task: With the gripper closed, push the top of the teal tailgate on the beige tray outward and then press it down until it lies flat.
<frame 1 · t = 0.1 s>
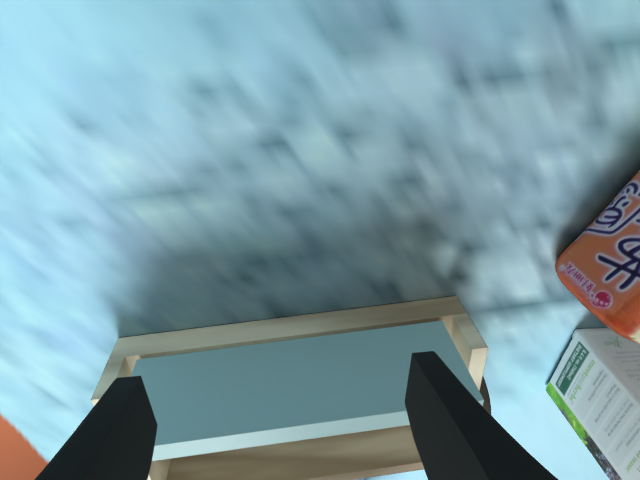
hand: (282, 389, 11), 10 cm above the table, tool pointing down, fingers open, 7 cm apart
beige tray: (299, 376, 26), on the table
tailgate: (296, 385, 20), point 4 cm above the table, hinge at 0.0°
syrup box: (595, 355, 28), on the table
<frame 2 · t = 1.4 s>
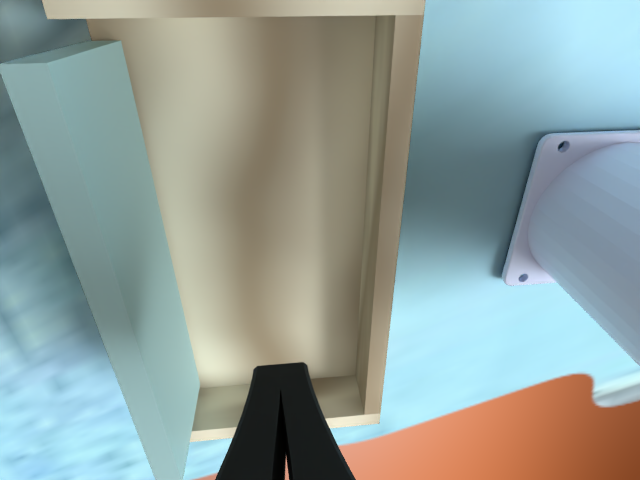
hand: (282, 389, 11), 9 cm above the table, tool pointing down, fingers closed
beige tray: (267, 227, 19), on the table
tailgate: (141, 291, 15), point 4 cm above the table, hinge at 0.0°
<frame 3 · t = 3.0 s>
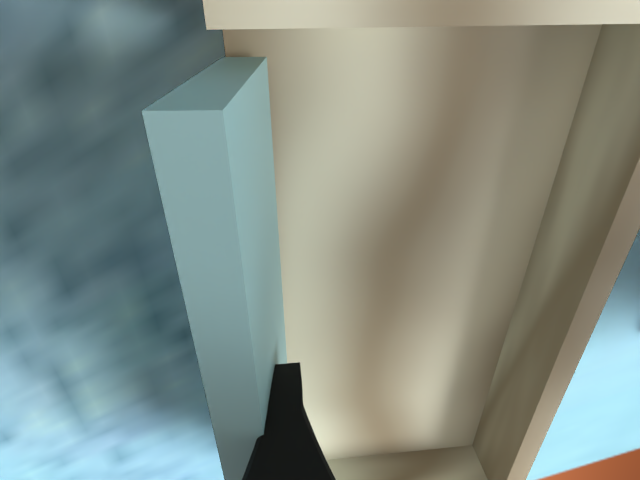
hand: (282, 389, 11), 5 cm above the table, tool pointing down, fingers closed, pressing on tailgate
beige tray: (390, 279, 15), on the table
tailgate: (259, 384, 11), point 4 cm above the table, hinge at 5.7°, touching gripper
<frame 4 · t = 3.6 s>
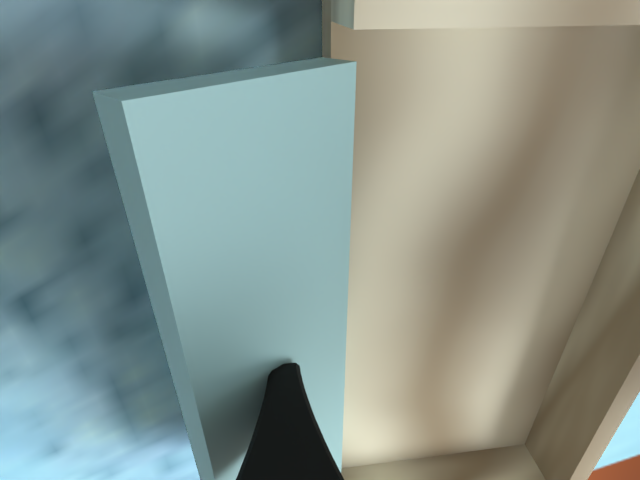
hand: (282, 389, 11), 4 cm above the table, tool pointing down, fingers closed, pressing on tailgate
beige tray: (455, 280, 15), on the table
tailgate: (274, 378, 11), point 4 cm above the table, hinge at 50.9°, touching gripper
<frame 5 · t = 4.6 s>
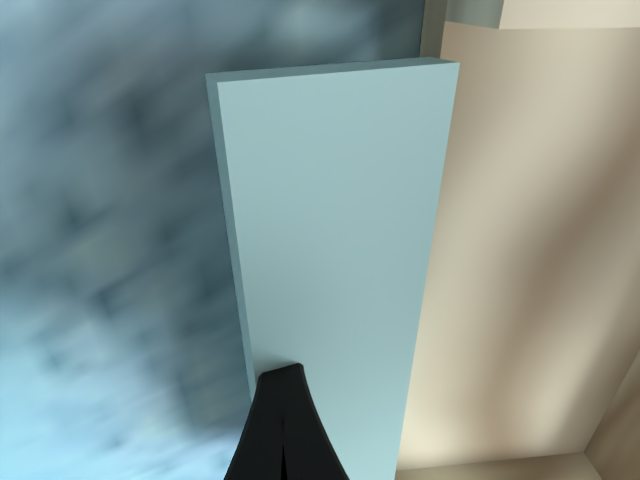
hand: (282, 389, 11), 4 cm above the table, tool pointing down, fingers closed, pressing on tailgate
beige tray: (526, 284, 15), on the table
tailgate: (335, 360, 12), point 3 cm above the table, hinge at 70.9°, touching gripper
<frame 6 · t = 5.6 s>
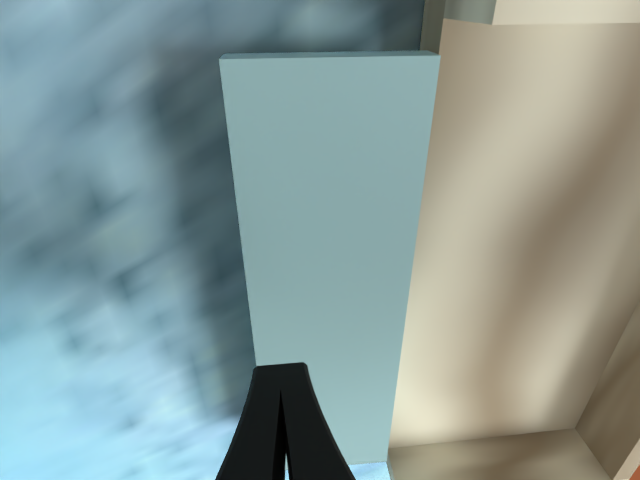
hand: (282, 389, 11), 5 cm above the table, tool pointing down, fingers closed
beige tray: (519, 266, 16), on the table
tailgate: (328, 314, 14), point 2 cm above the table, hinge at 91.7°
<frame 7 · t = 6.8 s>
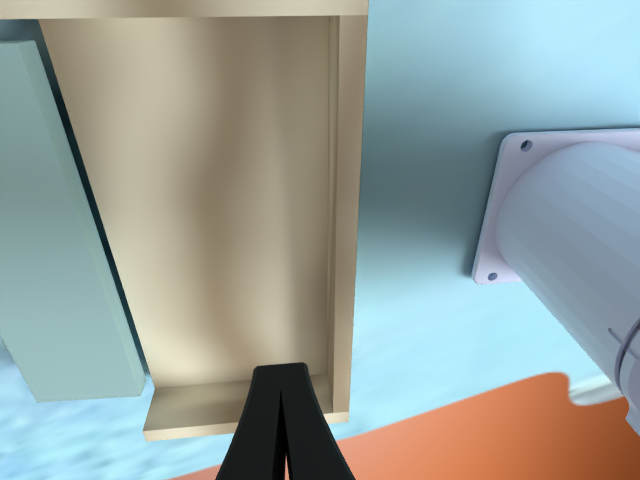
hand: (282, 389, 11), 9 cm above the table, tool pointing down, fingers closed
beige tray: (233, 226, 19), on the table
tailgate: (36, 259, 17), point 2 cm above the table, hinge at 92.0°
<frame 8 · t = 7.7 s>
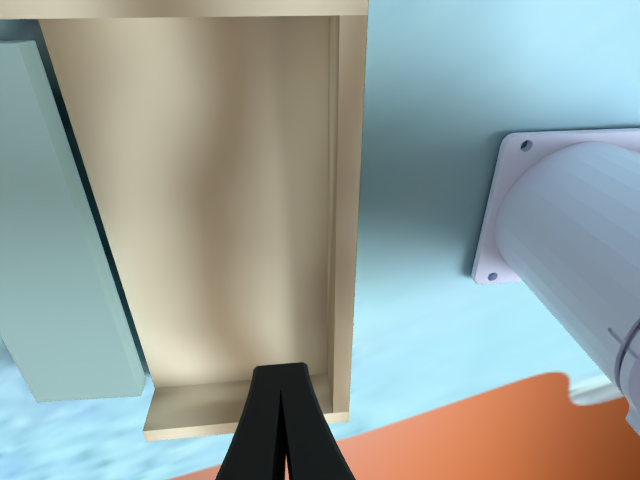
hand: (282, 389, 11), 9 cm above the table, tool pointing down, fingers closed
beige tray: (233, 226, 19), on the table
tailgate: (36, 259, 17), point 2 cm above the table, hinge at 92.0°
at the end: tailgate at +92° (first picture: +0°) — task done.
